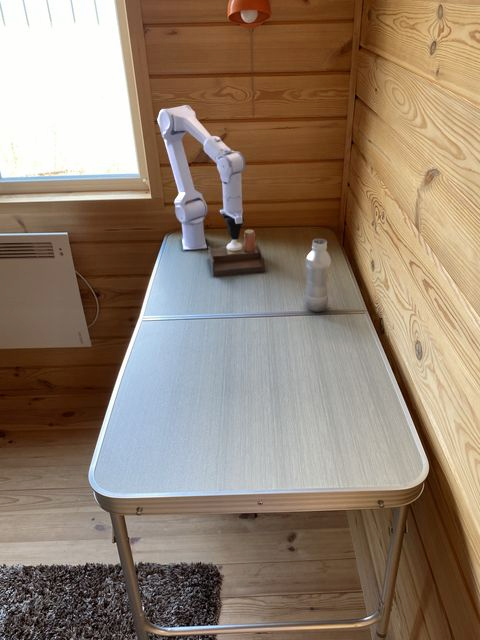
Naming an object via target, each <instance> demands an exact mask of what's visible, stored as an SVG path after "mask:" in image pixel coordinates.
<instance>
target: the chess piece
mask: <svg viewBox="0 0 480 640" xmlns="http://www.w3.org/2000/svg"><path fill="white" fill-rule="evenodd" d="M237 240H238V239H235V240H232V239H231V241H230V242H229V243H227V244H226V248H227V249H228V250H232V251H236V250H240V249H241V248H242V246H243V245H242V243H240V242H238V241H237Z"/></svg>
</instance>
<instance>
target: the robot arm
mask: <svg viewBox="0 0 480 640" xmlns="http://www.w3.org/2000/svg"><path fill="white" fill-rule="evenodd" d="M157 123H158V126H159V130H160V133H161V136H162V139H163V141H164V144H165V149H166V152H167V155H168V159H169V163H170V166H171V170H172V173H173V177H174V180H175V184H176V187H177V191H178V195H177V196H176V198H175V199H174V201H173V203H174V209H175V210H174V211H175V212H174V213H175V216H176V219H177V220H178V221H179V222H180V223H181V229H182V230H181V231H182V239H181V242H182V243H181V244H182V249H183V251H192V250H193V251H194V250H204V249H206V250H207V248H208V246H207V242H206V237H205V230H204V221H205V219H206V218H205V217H206V216H207V214H208V205H207V203H206V200H205V199H204V197H203V194H202V193H201V192H199V191H198V190H196V189H195V185H194V182H193V178H192V174H191V170H190V167H189V163H188V158H187V156H186V152H185V147H184V144H183V142H182V141H183V138H184V135H186V133H189V134H190V136H192V137H193V138H195V139H196V140H197V141H198V142H199V143H200V144H201V145H203V152H204V153H205V154H206V155H208V157H209V158H210V159H212V161H213V162H214V163H215V164H216V168H217V171H218V173H219V176H220V180H221V182H222V183H221V184H222V200H223V201H222V203H223V204H222V205H223V208H222V209H219V213H220V214H221V215H222V217H223V219H224V221H225V224H226V227H227V232H228V236H229V237H230V239H231V241H232V240H235V239H236V240H239V239H240V233H241V229H242V227H243V224H244V223H245V217H244V216H243V214H244V213H243V212H244V209H243V192H242V190H243V188H242V172H244V170H245V168H246V161H245V158H244V156H243V155H242V152H240V151H234V150H232V149H231V148H230V147H229V146H227V144H226V143H224V142H223V140H222V138H221V137H219V136H217V135H211V133H209V132H208V130H207V129H206V128H205V126H203V125H202V124H201V122H200V121H199V120H198V119H197V115H196V111H195V110H193V108H191V106H190V105H187V104H184V105H181V106H176V107H175V106H174V107H170V108H169V107H168V108H162V109H161V110H160V111H159V113H158V117H157Z"/></svg>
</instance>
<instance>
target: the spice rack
mask: <svg viewBox="0 0 480 640" xmlns="http://www.w3.org/2000/svg"><path fill="white" fill-rule="evenodd" d="M207 248H208V260H209V265H210V270H211V274H212V277H223V276H224V277H225V276H232V275H233V276H234V275H245V274H257V273H265V256H264V254H263V251H262V250H261V247H260V244H259V243H258V242H257V241H255V250H254V251H252V252H247V251H245V250H244V245H242V248H241V249H240V250H236V251H232V250H228V249H227V247H218V248H212V247H211V245H208V246H207Z"/></svg>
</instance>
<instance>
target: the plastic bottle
mask: <svg viewBox="0 0 480 640" xmlns="http://www.w3.org/2000/svg"><path fill="white" fill-rule="evenodd" d="M327 244H328V241H327V239H325V238H315V239H313V240H312V243H311V251H310V252H309V253H307V255H306V258H305V266H306V290H305V292H304V293H305V294H304V298H303V302H304V306H305V308H306V309H307V310H308V311H310V312H316V313H317V312H318V313H319V312H323V311H325V310H326V309H327V307H328V305H329V294H328V279H329V272H330V268H331V264H332V263H331V262H332V259H331V256H330V254H329V252H328V251H327V249H328V245H327Z"/></svg>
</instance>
